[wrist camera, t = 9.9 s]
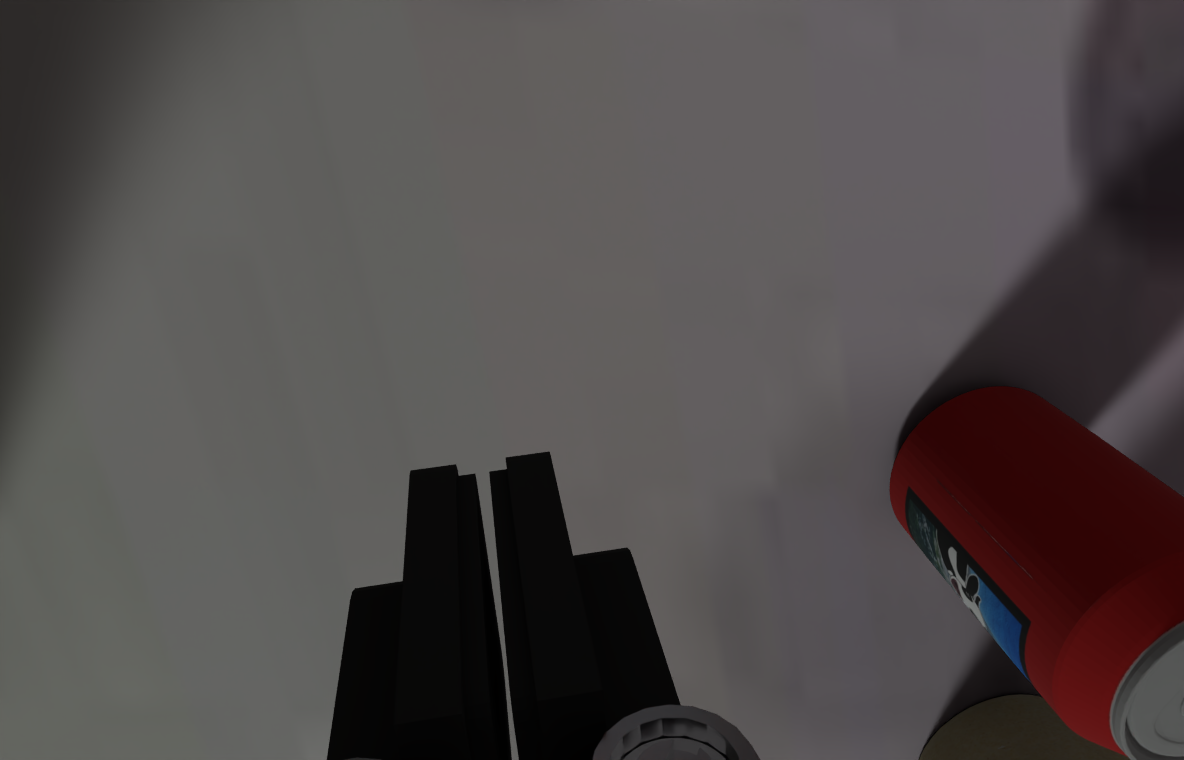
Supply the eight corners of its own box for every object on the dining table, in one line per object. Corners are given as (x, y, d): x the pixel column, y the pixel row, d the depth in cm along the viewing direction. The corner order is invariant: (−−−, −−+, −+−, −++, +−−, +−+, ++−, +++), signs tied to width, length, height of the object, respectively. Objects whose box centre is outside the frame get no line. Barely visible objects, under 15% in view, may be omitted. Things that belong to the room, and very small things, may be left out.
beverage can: (848, 517, 33) (1044, 782, 22) (929, 355, 31) (1193, 564, 20) (997, 549, 35) (1245, 808, 24) (1084, 398, 32) (1404, 611, 22)
